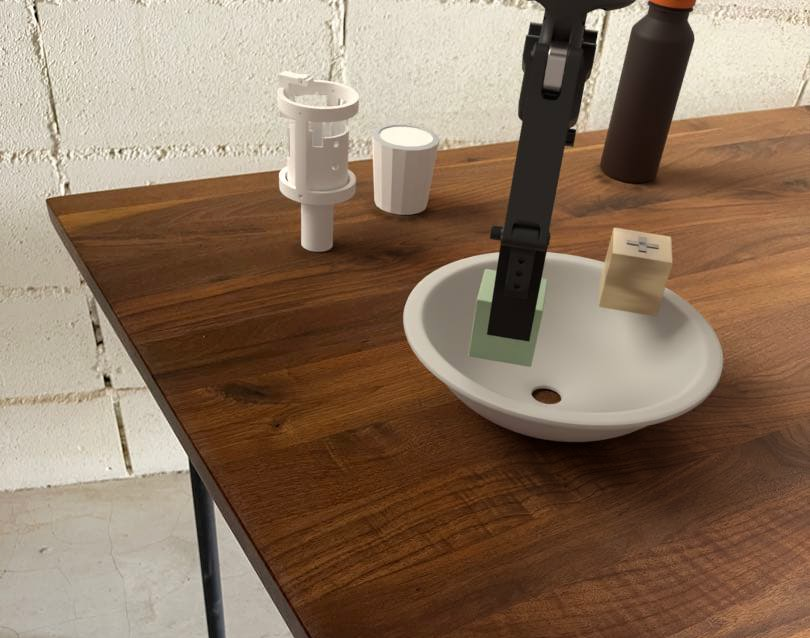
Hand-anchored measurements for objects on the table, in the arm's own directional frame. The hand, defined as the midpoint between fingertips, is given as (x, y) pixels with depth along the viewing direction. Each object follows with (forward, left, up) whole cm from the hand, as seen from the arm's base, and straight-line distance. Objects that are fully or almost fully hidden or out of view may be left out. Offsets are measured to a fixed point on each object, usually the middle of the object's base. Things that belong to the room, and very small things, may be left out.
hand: (519, 283), depth 60 cm
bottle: (-10, -53, -12) cm, 55 cm away
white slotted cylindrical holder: (+20, -23, -12) cm, 33 cm away
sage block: (0, 0, -5) cm, 5 cm away
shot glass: (+14, -35, -12) cm, 39 cm away
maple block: (-9, -10, -5) cm, 14 cm away
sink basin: (-4, -4, -12) cm, 13 cm away
